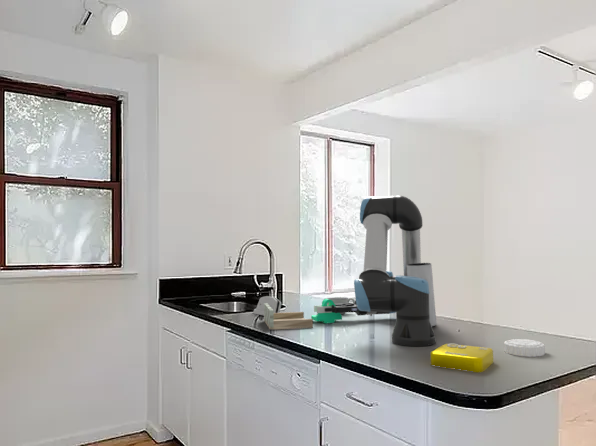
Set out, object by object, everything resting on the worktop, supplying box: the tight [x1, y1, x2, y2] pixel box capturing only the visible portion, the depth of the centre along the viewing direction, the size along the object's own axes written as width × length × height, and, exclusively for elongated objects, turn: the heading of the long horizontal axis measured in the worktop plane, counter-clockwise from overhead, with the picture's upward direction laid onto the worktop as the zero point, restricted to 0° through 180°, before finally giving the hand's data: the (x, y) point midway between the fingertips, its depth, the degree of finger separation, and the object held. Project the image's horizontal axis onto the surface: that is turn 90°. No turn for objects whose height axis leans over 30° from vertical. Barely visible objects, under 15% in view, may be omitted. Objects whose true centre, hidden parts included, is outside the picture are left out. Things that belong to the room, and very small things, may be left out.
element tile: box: [429, 343, 494, 373], centre depth 149 cm, size 15×15×5 cm
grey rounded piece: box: [252, 295, 282, 316], centre depth 251 cm, size 17×5×10 cm, turn 36°
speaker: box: [406, 262, 438, 327], centre depth 212 cm, size 11×10×26 cm
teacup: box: [325, 296, 356, 315], centre depth 249 cm, size 14×11×8 cm
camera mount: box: [310, 298, 343, 324], centre depth 226 cm, size 12×8×10 cm, turn 109°
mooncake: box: [503, 338, 546, 358], centre depth 162 cm, size 12×12×4 cm
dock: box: [263, 303, 314, 331], centre depth 221 cm, size 22×18×8 cm
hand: (315, 309), depth 223 cm, fingers closed on camera mount, 3 cm apart
